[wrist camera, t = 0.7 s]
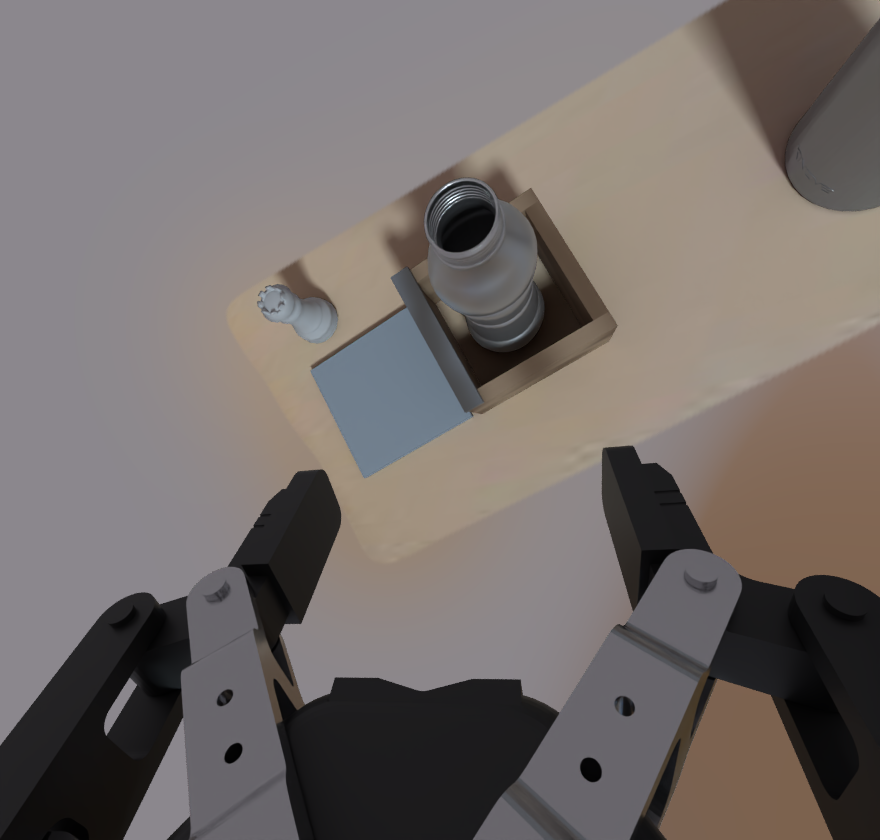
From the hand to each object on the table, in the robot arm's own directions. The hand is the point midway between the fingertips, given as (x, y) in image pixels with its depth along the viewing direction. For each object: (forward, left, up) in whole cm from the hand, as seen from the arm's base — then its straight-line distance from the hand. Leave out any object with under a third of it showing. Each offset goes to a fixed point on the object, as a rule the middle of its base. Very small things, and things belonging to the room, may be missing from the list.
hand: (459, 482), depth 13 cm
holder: (-4, -11, -27) cm, 30 cm away
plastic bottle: (-4, -11, -28) cm, 30 cm away
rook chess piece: (+12, -21, -28) cm, 36 cm away
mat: (+9, -11, -27) cm, 31 cm away
